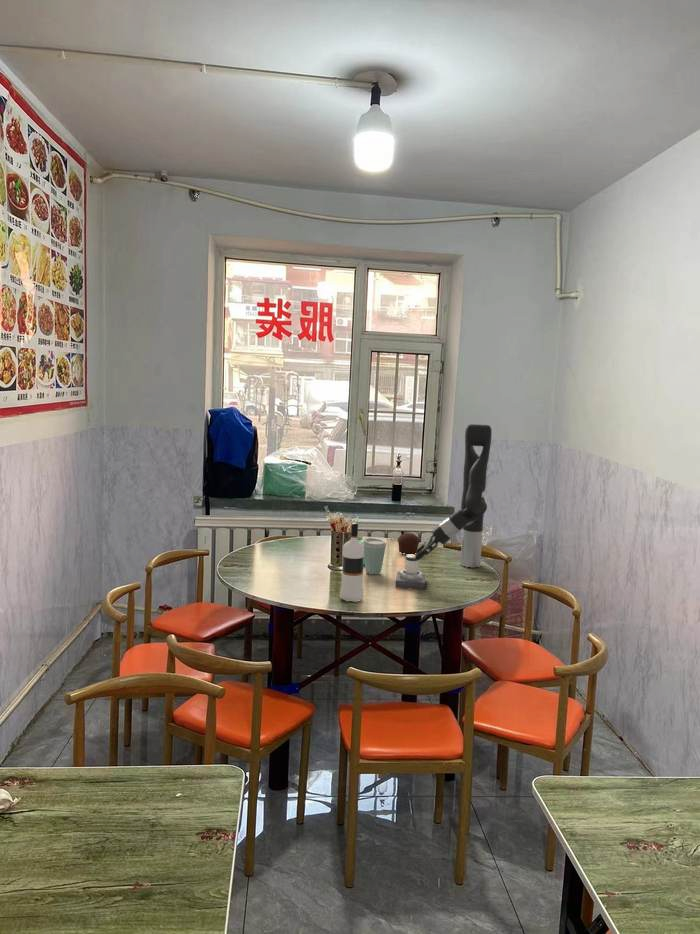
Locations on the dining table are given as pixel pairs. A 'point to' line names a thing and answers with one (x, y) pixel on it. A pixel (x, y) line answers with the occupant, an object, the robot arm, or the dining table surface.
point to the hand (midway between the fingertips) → (416, 555)
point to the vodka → (352, 567)
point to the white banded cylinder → (411, 565)
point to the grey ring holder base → (410, 580)
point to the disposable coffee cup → (374, 555)
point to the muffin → (408, 543)
